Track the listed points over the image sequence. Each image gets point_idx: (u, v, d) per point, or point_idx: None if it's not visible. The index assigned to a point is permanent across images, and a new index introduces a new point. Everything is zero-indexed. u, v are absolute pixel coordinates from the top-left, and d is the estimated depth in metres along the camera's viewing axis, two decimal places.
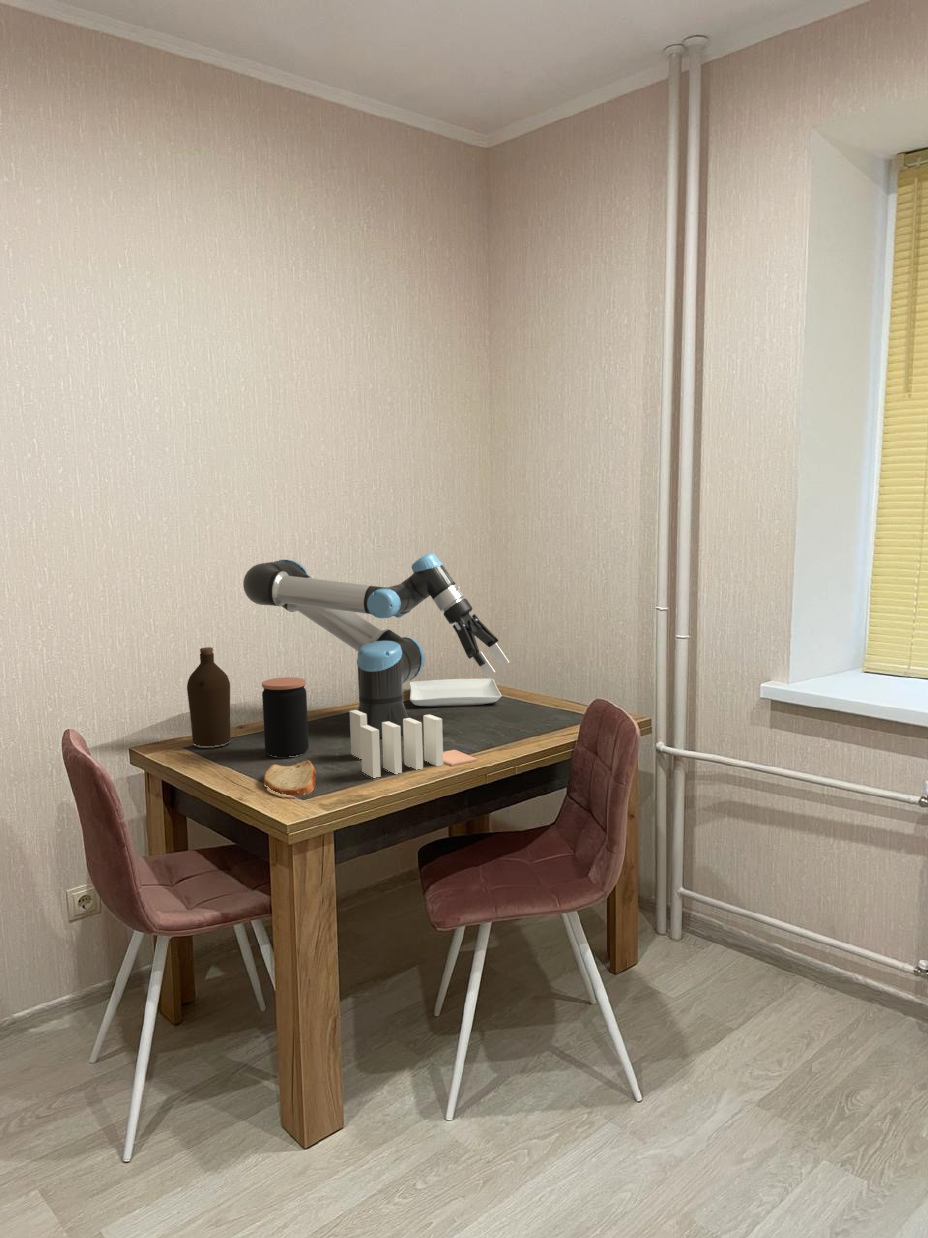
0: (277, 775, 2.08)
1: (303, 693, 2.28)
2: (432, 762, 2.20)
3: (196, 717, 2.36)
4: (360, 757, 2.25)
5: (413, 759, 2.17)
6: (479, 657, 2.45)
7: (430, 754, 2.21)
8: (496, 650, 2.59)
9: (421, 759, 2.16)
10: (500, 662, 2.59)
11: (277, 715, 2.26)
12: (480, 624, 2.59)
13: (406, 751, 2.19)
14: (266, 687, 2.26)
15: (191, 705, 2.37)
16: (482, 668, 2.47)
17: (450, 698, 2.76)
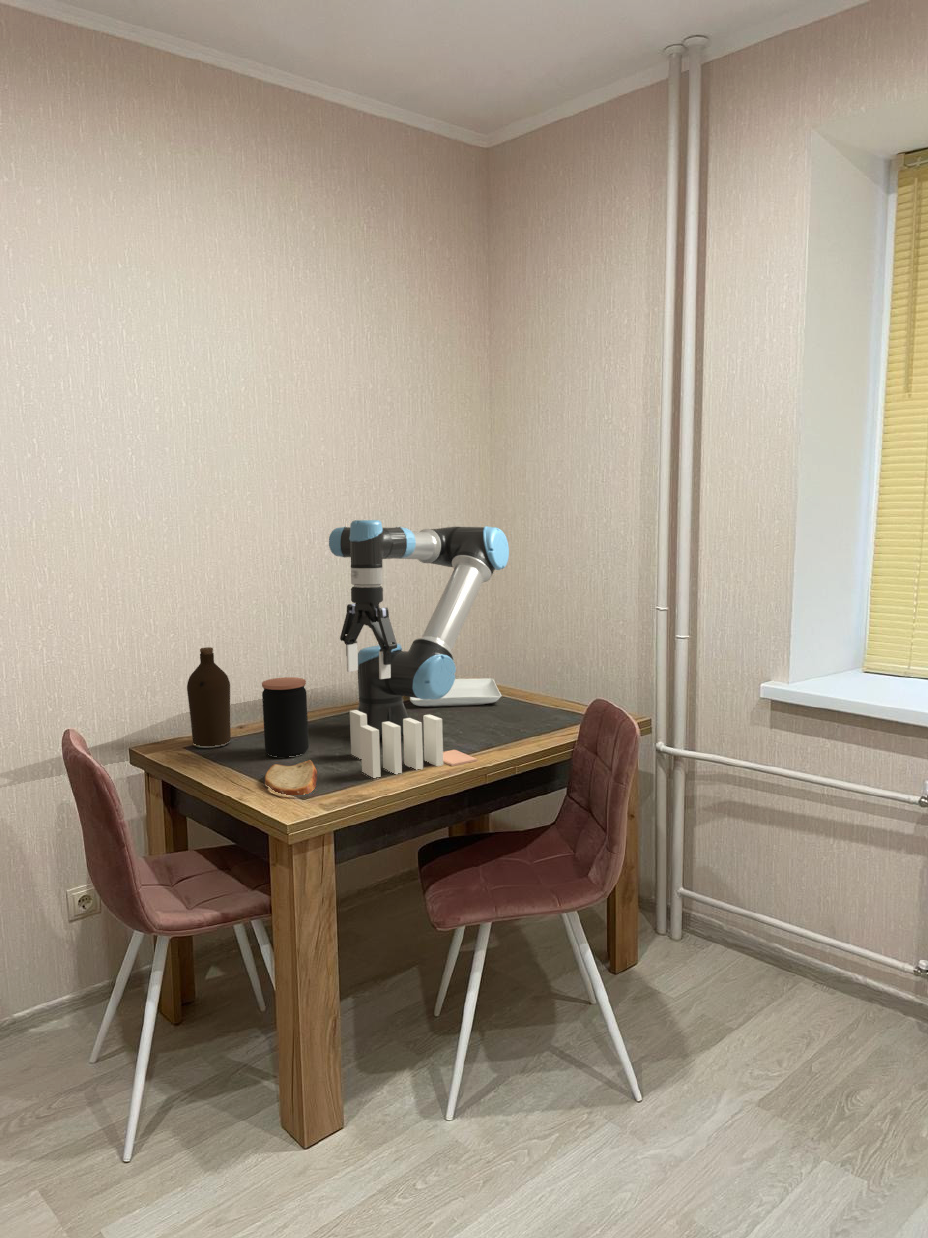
0: (278, 775, 2.08)
1: (303, 693, 2.28)
2: (432, 762, 2.20)
3: (196, 717, 2.36)
4: (360, 757, 2.25)
5: (413, 759, 2.17)
6: (346, 648, 2.30)
7: (430, 754, 2.21)
8: None
9: (421, 759, 2.16)
10: None
11: (277, 715, 2.26)
12: (379, 622, 2.17)
13: (407, 751, 2.19)
14: (266, 687, 2.26)
15: (191, 705, 2.37)
16: None
17: (450, 698, 2.76)
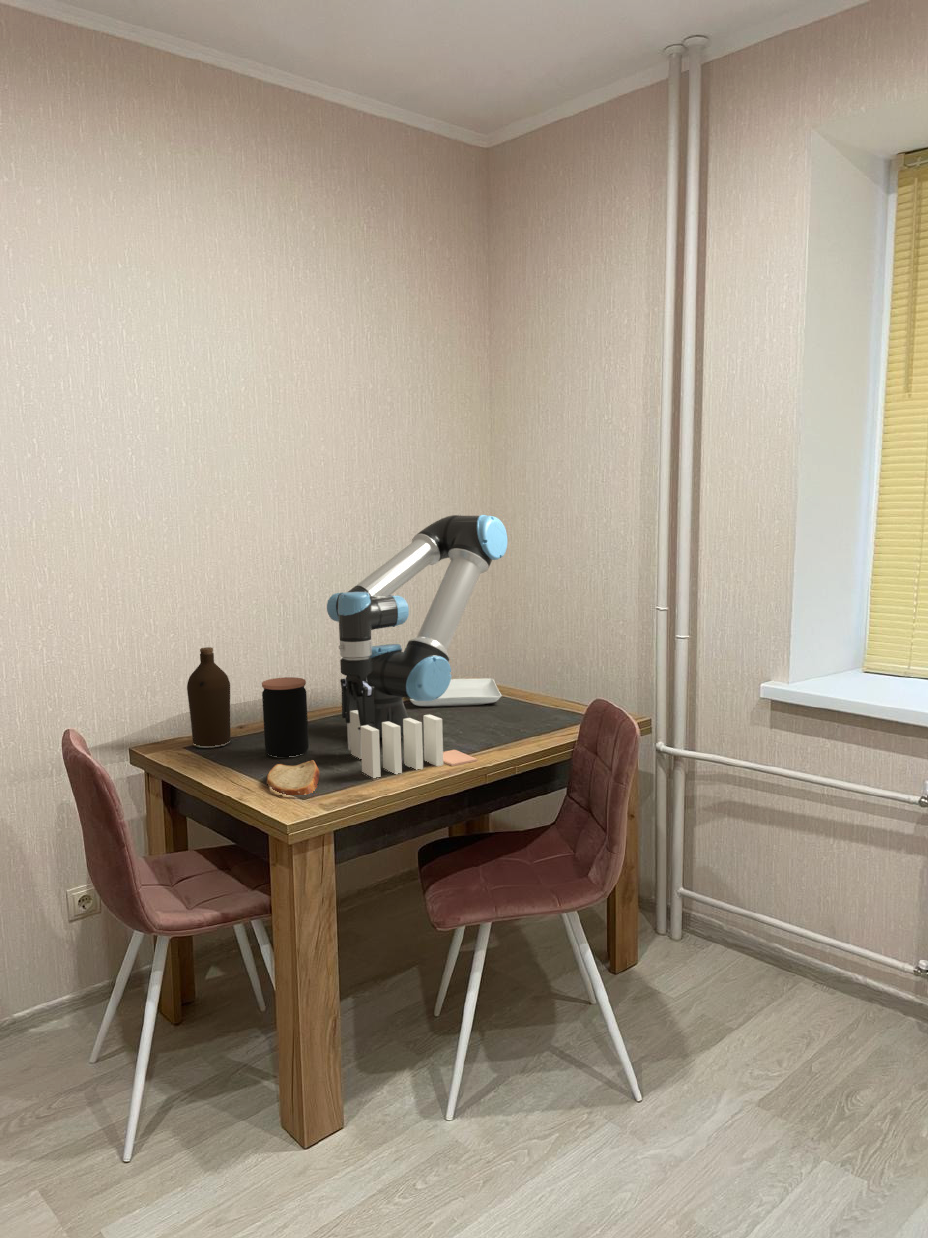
0: (280, 775, 2.08)
1: (303, 693, 2.28)
2: (432, 762, 2.20)
3: (196, 717, 2.36)
4: (360, 757, 2.25)
5: (413, 759, 2.17)
6: None
7: (430, 754, 2.21)
8: None
9: (421, 759, 2.16)
10: None
11: (277, 715, 2.26)
12: None
13: (407, 751, 2.19)
14: (266, 687, 2.26)
15: (191, 705, 2.37)
16: None
17: (450, 698, 2.76)
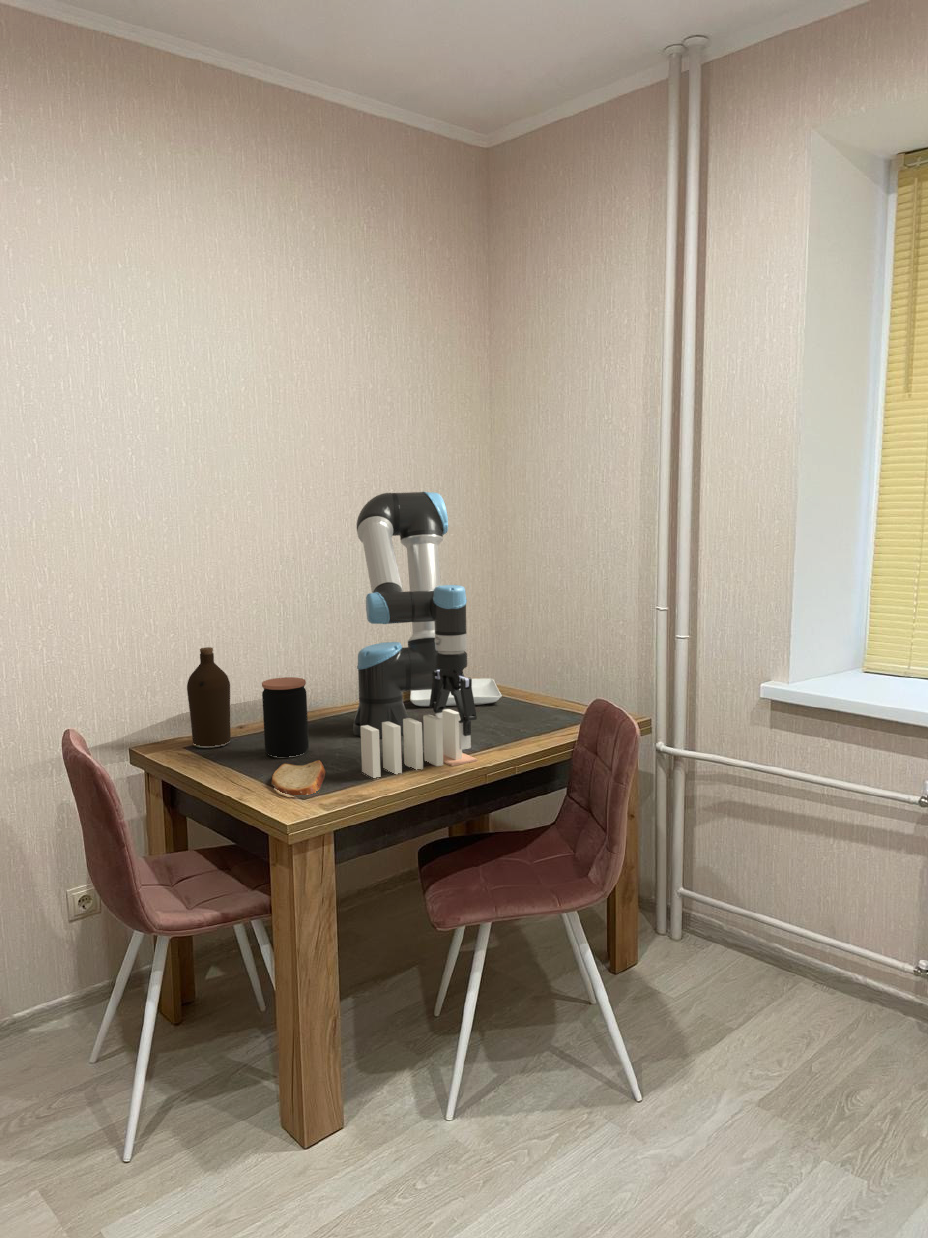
0: (285, 774, 2.09)
1: (303, 693, 2.28)
2: (432, 762, 2.20)
3: (196, 717, 2.36)
4: (454, 757, 2.22)
5: (413, 759, 2.17)
6: None
7: (430, 754, 2.21)
8: None
9: (421, 759, 2.16)
10: None
11: (277, 715, 2.26)
12: None
13: (407, 751, 2.19)
14: (266, 687, 2.26)
15: (191, 705, 2.37)
16: None
17: (450, 698, 2.76)
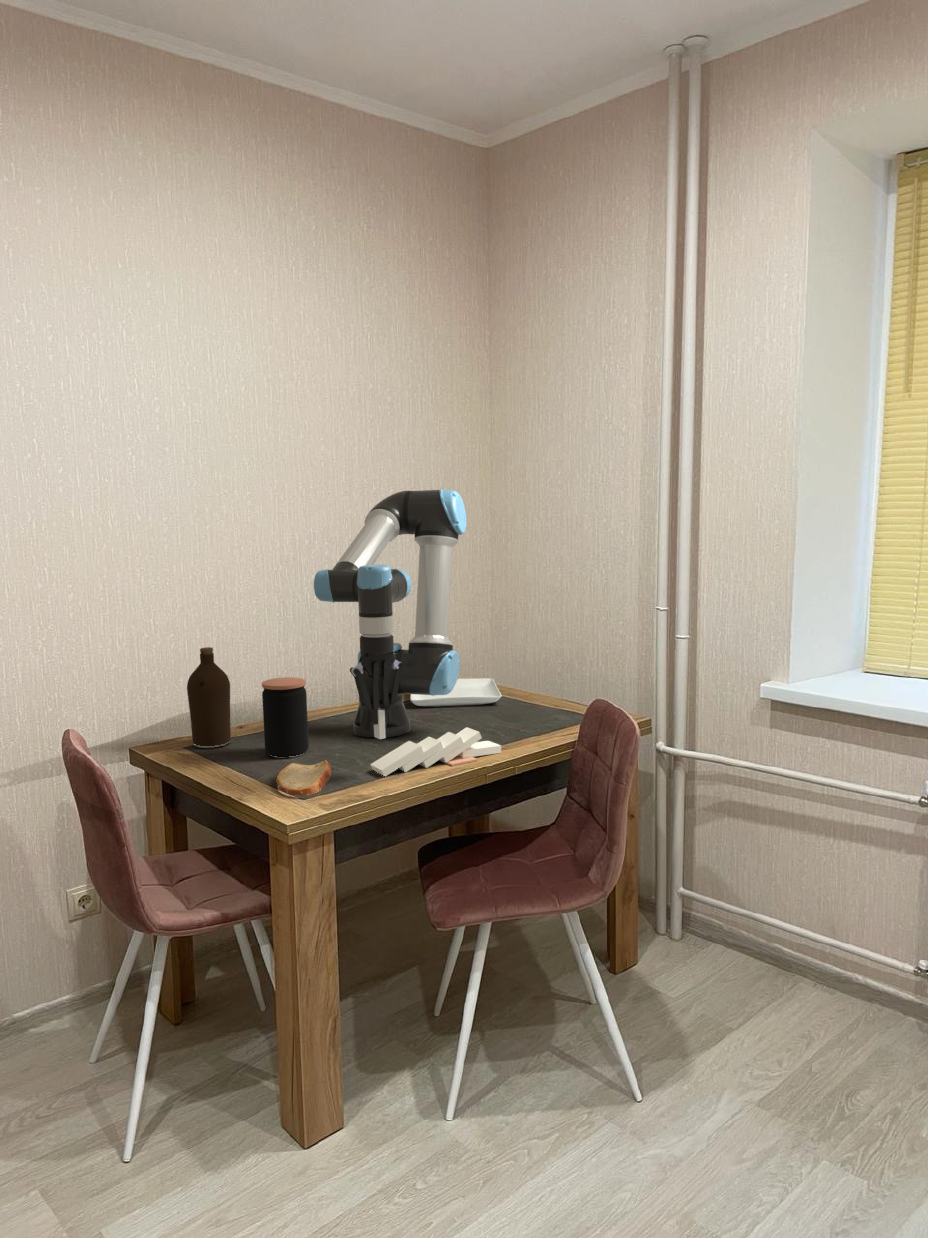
0: (290, 774, 2.09)
1: (303, 693, 2.28)
2: None
3: (196, 717, 2.36)
4: None
5: None
6: None
7: None
8: None
9: (434, 761, 2.18)
10: None
11: (277, 715, 2.26)
12: None
13: None
14: (266, 687, 2.26)
15: (191, 705, 2.37)
16: None
17: (450, 698, 2.76)
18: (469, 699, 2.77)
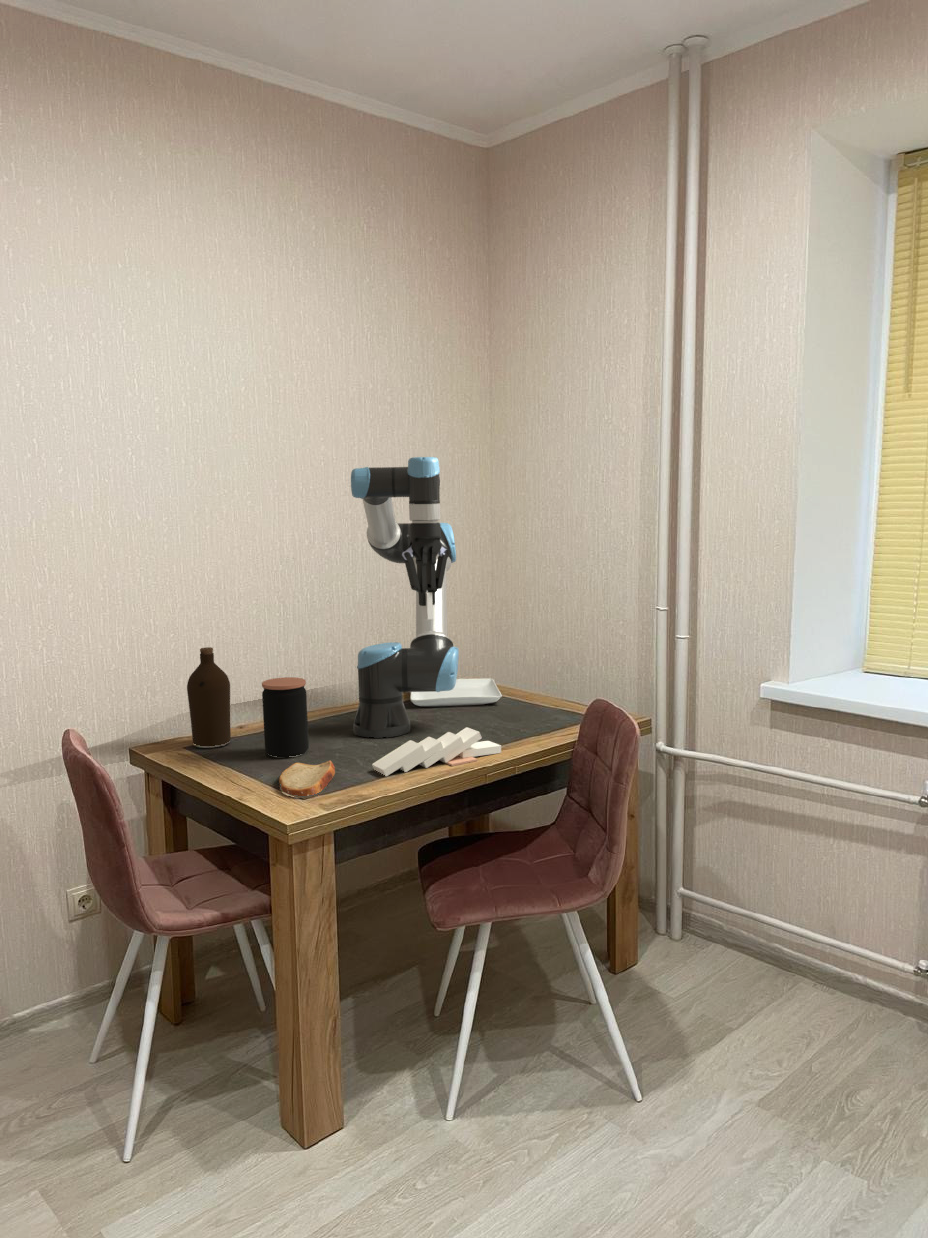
0: (294, 774, 2.09)
1: (303, 693, 2.28)
2: None
3: (196, 717, 2.36)
4: None
5: None
6: None
7: None
8: None
9: (434, 761, 2.18)
10: None
11: (277, 715, 2.26)
12: None
13: None
14: (266, 687, 2.26)
15: (191, 705, 2.37)
16: None
17: (451, 698, 2.76)
18: (469, 699, 2.77)
